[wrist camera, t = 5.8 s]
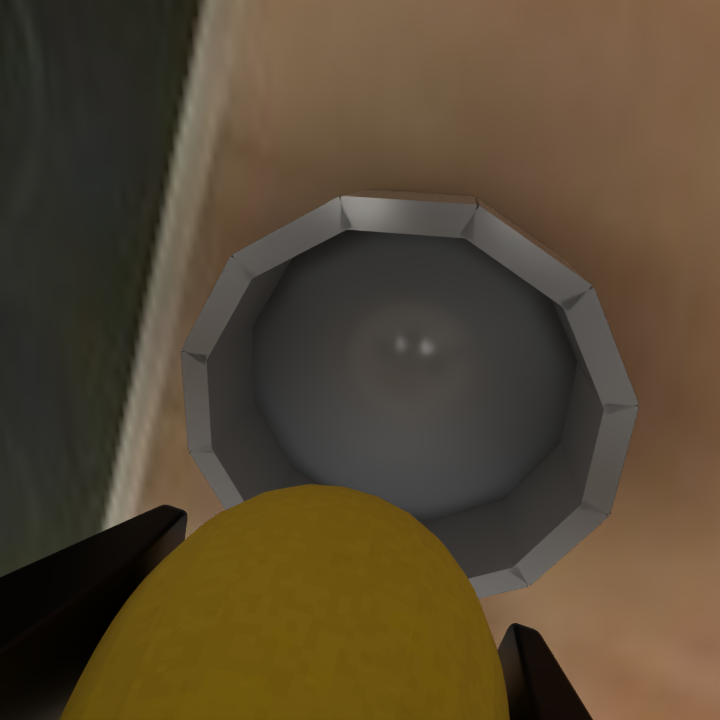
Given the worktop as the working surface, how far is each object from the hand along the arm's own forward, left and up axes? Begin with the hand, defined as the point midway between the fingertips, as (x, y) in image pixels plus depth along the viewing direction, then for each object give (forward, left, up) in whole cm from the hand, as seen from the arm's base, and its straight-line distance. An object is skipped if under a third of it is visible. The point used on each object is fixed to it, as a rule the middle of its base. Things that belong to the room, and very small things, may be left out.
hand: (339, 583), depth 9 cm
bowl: (0, 0, -11) cm, 11 cm away
